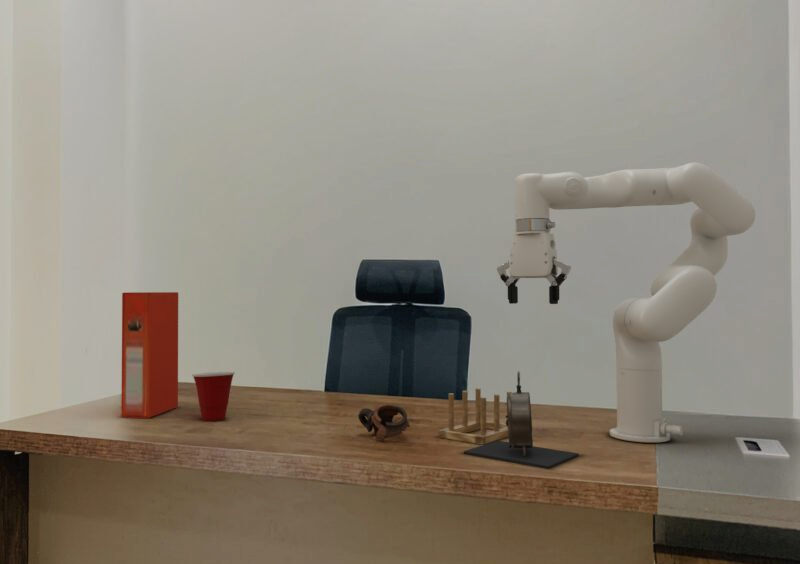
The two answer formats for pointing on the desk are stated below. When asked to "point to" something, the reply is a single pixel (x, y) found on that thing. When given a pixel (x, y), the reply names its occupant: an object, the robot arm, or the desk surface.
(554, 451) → the desk mat
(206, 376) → the plastic cup
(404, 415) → the pottery mug
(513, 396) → the alarm clock
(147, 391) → the file binder
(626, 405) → the robot arm
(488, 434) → the dowel rack
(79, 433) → the desk surface
